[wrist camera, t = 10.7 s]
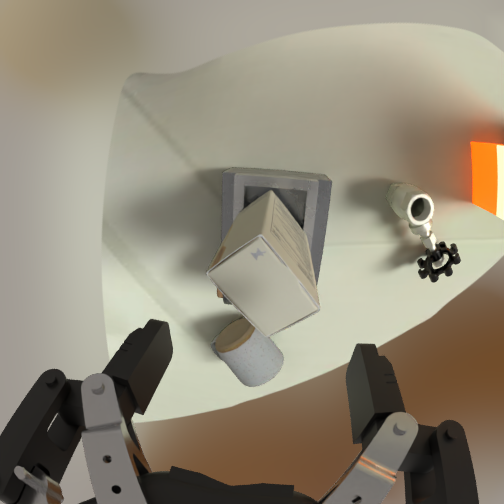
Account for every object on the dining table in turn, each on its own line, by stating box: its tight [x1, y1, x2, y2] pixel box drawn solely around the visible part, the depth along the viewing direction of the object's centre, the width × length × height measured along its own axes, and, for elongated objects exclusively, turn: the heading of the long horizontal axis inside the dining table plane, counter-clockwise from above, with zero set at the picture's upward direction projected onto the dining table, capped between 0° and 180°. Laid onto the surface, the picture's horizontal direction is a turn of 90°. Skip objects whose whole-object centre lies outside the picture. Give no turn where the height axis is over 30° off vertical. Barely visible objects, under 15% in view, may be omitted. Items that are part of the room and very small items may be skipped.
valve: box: [386, 183, 461, 282], centre depth 28 cm, size 7×7×12 cm
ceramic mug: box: [211, 318, 284, 387], centre depth 38 cm, size 11×8×8 cm
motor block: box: [217, 167, 332, 305], centre depth 30 cm, size 11×14×9 cm
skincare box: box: [206, 190, 320, 337], centre depth 21 cm, size 6×4×12 cm
